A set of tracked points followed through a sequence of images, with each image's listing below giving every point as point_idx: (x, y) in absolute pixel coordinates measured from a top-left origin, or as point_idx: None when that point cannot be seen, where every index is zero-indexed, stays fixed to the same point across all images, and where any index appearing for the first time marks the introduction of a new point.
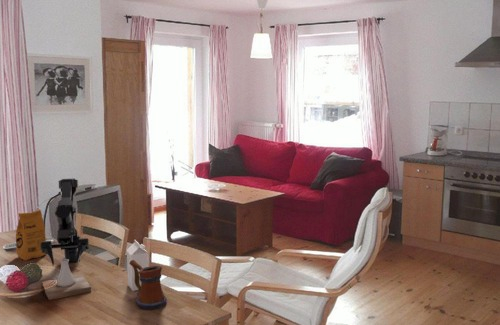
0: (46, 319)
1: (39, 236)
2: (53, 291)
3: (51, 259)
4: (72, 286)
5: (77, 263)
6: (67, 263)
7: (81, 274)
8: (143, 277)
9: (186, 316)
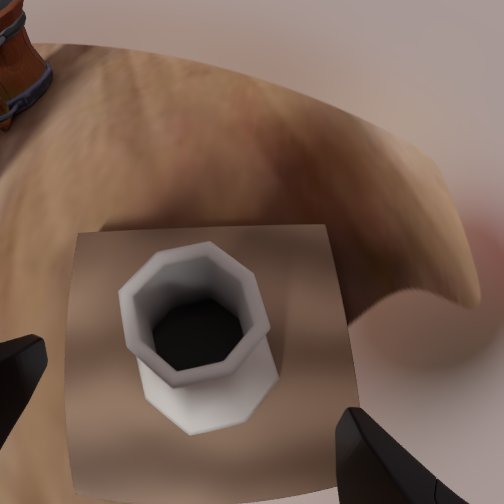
0: (314, 102)
1: None
2: (299, 264)
3: (400, 453)
4: None
5: (40, 355)
6: (158, 295)
7: (76, 484)
8: (21, 10)
9: None
